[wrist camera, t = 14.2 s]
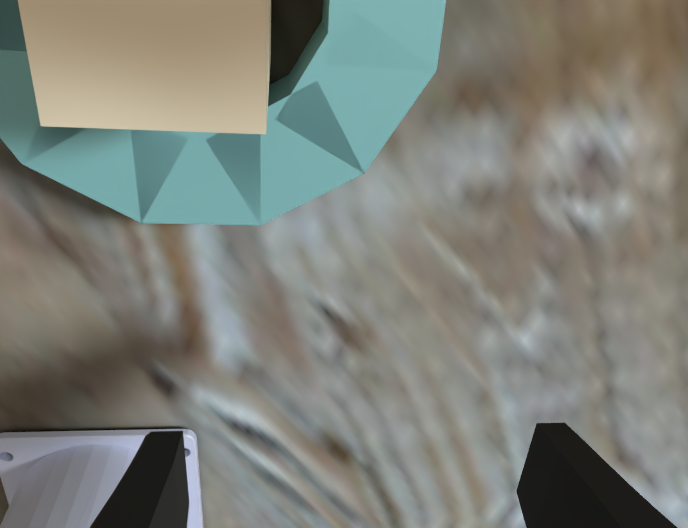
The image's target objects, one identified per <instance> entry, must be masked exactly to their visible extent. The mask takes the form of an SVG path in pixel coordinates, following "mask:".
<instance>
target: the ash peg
mask: <svg viewBox="0 0 688 528" xmlns="http://www.w3.org/2000/svg"><path fill="white" fill-rule="evenodd" d="M18 5H19V10H20V16H21V21H22V27H23V32H24V37H25V43H26V48H27V54H28V59H29V65H30V70H31V76H32V81H33V86H34V92H35V97H36V103H37V108H38V114H39V119H40V125H41V126H47V127H75V128H103V129H130V130H158V131H186V132H214V133H242V134H266V129H267V112H268V95H269V78H270V61H271V0H18Z"/></svg>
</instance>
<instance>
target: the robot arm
mask: <svg viewBox="0 0 688 528" xmlns="http://www.w3.org/2000/svg"><path fill="white" fill-rule="evenodd" d="M185 448H187V449H188V450H185ZM6 452H7V453H6ZM8 453H10V454H8ZM0 478H1V481H2V484H3V488H4V491H5V494H6V497H7V501H8V504H9V507H8V509H7V512H6V514H5V516H4V518H3V520H2V522H1V525H0V528H204V527H203V514H202V501H201V487H200V474H199V461H198V448H197V437H196V434H195V433H194V432H193V431H191V430H189V429H147V430H99V431H50V432H4V433H0ZM517 495H518V498H519V502H520V506H521V509H522V513H523V517H524V520H525V524H526V527H527V528H677V527H676V526H675V525H674V524H672V523H671V522H670V521H669V520H668V519H667V518H666V517H665V516H663V515H662V514H661V513H660V512H659V511H658V510H657V509H655V508H654V507H653V506H652V505H651V504H650V503H649V502H648V501H647V500H646V499H644V498H643V497H642V496H641V495H640V494H639V493H638V492H637V491H636V490H635V489H634V488H633V487H632V486H630V485H629V484H628V483H627V482H626V481H625V480H624V479H623V478H622V477H621V476H620V475H619V474H618V473H617V472H616V471H615V470H614V469H613V468H612V467H610V466H609V465H608V464H607V463H606V462H605V461H604V460H603V459H602V458H601V457H600V456H599V455H598V454H597V453H596V452H595V451H594V450H593V449H592V448H591V447H590V446H589V445H588V444H587V443H586V442H585V441H584V440H582V439H581V438H580V437H579V436H578V435H577V434H576V433H575V432H574V431H573V430H572V429H571V428H570V427H569V426H568V425H567V424H565V423H537V424H536V428H535V431H534V434H533V438H532V441H531V444H530V448H529V451H528V454H527V458H526V461H525V464H524V468H523V471H522V474H521V478H520V481H519V484H518V488H517Z"/></svg>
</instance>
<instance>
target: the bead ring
mask: <svg viewBox="0 0 688 528" xmlns="http://www.w3.org/2000/svg"><path fill="white" fill-rule="evenodd" d="M445 5H446V0H323V10H322V20H321V22H320V24H319V25H318V27H317V29H316V30H315V32H314V34H313V35H312V37H311V39H310V40H309V42H308V44H307V45H306V47H305V49H304V50H303V52H302V54H301V55H300V57H299V59H298V60H297V62H296V64H295V65H294V67H293V69H292V70H291V72H290V74H289V75H287V76H285V77H283V78H281V79H279V80H278V81H276V82H274V83H272V84H270V85H269V95H268V112H267V129H266V134H242V133H214V132H186V131H158V130H130V129H103V128H75V127H47V126H41V125H40V119H39V114H38V108H37V103H36V97H35V92H34V86H33V81H32V76H31V70H30V65H29V59H28V54H27V48H26V43H25V37H24V32H23V27H22V21H21V16H20V10H19V5H18V0H0V139H1V140H2V141H3V142H4V143H5V144H6V146H7V147H8V148H9V149H10V150H11V152H12V153H13V154H14V155H15V156H16V158H17V159H18V160H19V161H20V162H21V164H23V165H25V166H27V167H29V168H31V169H33V170H35V171H37V172H39V173H41V174H43V175H45V176H47V177H49V178H51V179H53V180H55V181H57V182H59V183H61V184H63V185H65V186H67V187H69V188H71V189H73V190H75V191H77V192H79V193H81V194H83V195H85V196H88V197H90V198H92V199H94V200H96V201H98V202H100V203H102V204H104V205H106V206H108V207H110V208H112V209H114V210H116V211H118V212H120V213H122V214H124V215H126V216H128V217H130V218H132V219H134V220H136V221H138V222H140V223H166V224H225V225H262V224H264V223H266V222H268V221H270V220H272V219H274V218H276V217H278V216H280V215H282V214H284V213H286V212H288V211H290V210H292V209H294V208H296V207H298V206H300V205H302V204H304V203H306V202H308V201H310V200H312V199H314V198H316V197H318V196H320V195H322V194H324V193H326V192H328V191H330V190H332V189H334V188H336V187H338V186H340V185H342V184H344V183H346V182H348V181H350V180H352V179H354V178H356V177H358V176H360V175H362V174H364V173H365V171H366V170H367V169H368V167H369V166H370V164H371V163H372V161H373V160H374V159H375V157H376V156H377V154H378V153H379V151H380V150H381V149H382V147H383V146H384V144H385V143H386V142H387V140H388V139H389V137H390V136H391V134H392V133H393V132H394V130H395V129H396V127H397V126H398V124H399V123H400V122H401V120H402V119H403V117H404V116H405V114H406V113H407V112H408V110H409V109H410V107H411V106H412V105H413V103H414V102H415V100H416V99H417V97H418V96H419V95H420V93H421V92H422V90H423V89H424V87H425V86H426V85H427V83H428V82H429V80H430V79H431V78H432V76H433V75H434V73H435V72H436V71H437V63H438V56H439V49H440V41H441V34H442V27H443V19H444V12H445Z"/></svg>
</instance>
